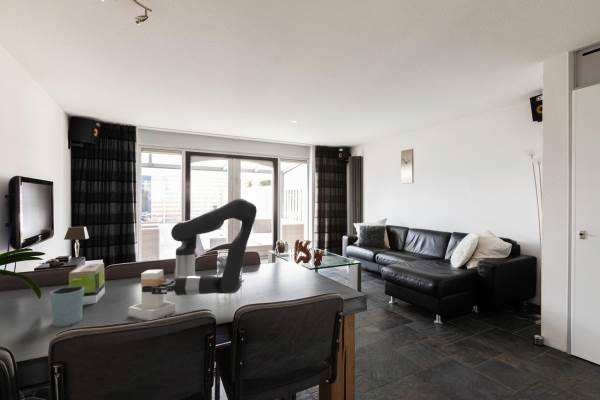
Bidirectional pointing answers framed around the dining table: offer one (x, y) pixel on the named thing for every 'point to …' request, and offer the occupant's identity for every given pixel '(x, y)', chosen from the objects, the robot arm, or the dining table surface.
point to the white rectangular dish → (151, 311)
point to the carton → (147, 297)
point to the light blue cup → (67, 305)
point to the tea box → (89, 281)
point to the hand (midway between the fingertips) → (146, 286)
